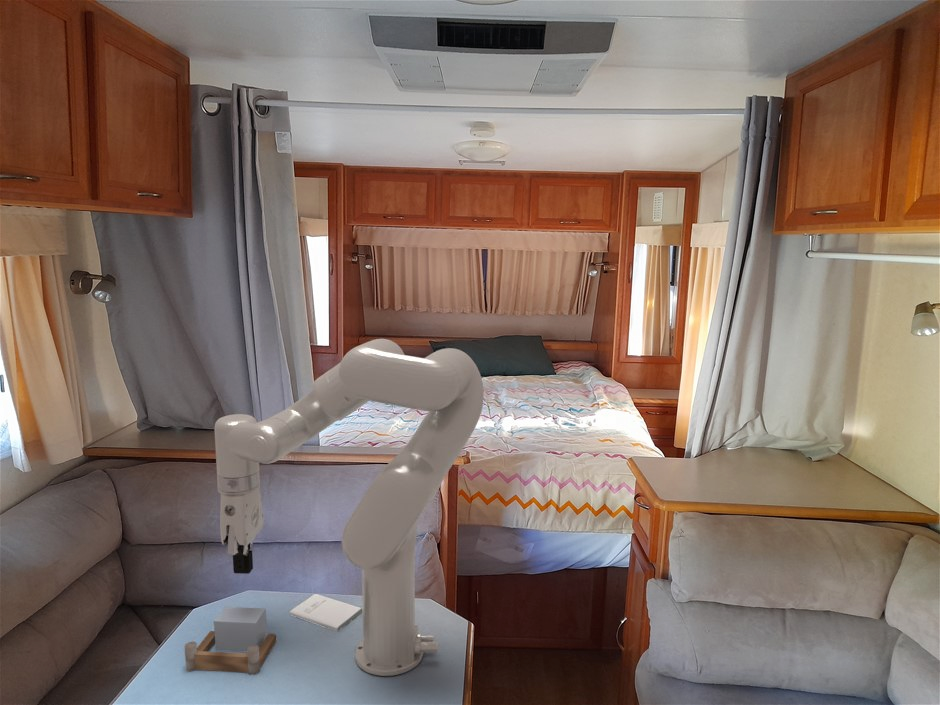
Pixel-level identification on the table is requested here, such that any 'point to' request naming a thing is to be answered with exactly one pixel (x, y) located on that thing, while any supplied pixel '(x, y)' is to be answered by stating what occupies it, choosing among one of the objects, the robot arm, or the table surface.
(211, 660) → the frame
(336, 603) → the external hard drive
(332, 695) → the table surface
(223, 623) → the tall white block
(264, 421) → the robot arm
